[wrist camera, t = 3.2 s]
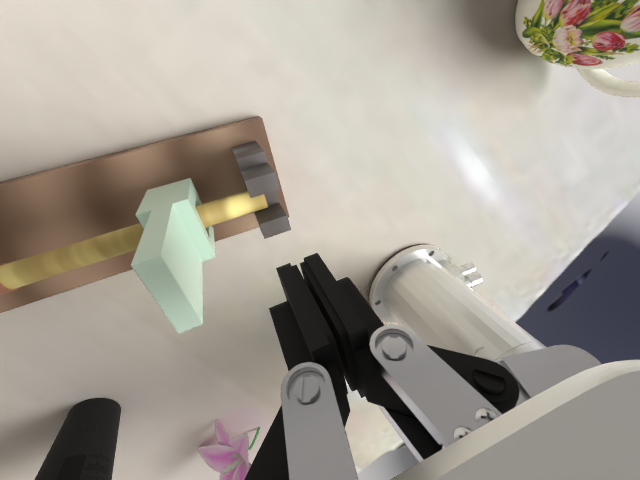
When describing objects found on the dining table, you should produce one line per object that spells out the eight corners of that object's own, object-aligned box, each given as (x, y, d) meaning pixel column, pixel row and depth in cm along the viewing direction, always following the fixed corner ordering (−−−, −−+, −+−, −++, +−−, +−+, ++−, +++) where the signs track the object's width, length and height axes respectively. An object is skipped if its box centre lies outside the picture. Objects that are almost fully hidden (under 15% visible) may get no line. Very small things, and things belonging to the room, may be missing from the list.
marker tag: (190, 177, 21) (182, 247, 12) (213, 228, 23) (220, 317, 15) (147, 190, 20) (107, 272, 12) (175, 241, 23) (159, 341, 14)
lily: (254, 384, 41) (222, 456, 32) (304, 435, 44) (288, 514, 35) (201, 410, 45) (160, 479, 37) (250, 455, 48) (223, 530, 39)
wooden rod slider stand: (258, 116, 24) (282, 132, 17) (285, 210, 29) (312, 253, 22) (-123, 213, 19) (-313, 294, 12) (-13, 308, 24) (-102, 404, 17)
